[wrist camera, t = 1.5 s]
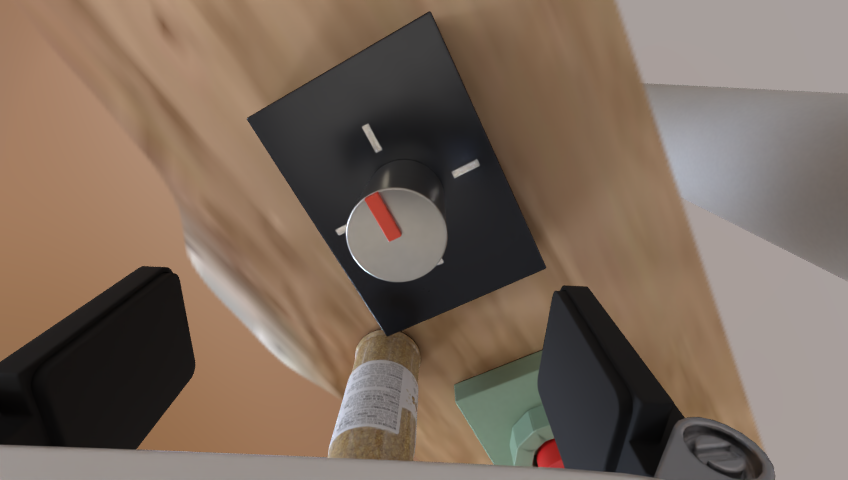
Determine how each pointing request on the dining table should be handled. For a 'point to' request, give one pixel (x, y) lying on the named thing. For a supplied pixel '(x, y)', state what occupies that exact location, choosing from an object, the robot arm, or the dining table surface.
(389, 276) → the dial
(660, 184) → the dining table surface
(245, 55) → the dining table surface
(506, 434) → the button box
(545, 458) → the button
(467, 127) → the panel
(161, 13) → the dining table surface
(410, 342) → the sprinkles bottle
